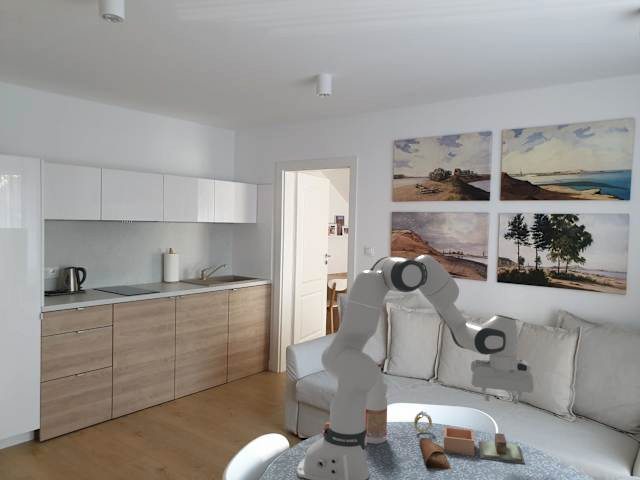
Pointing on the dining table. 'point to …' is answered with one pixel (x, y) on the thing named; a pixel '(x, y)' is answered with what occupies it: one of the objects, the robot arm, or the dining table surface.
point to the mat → (501, 459)
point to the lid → (500, 449)
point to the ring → (422, 414)
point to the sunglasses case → (433, 455)
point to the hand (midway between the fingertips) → (501, 402)
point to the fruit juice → (377, 411)
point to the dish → (458, 441)
